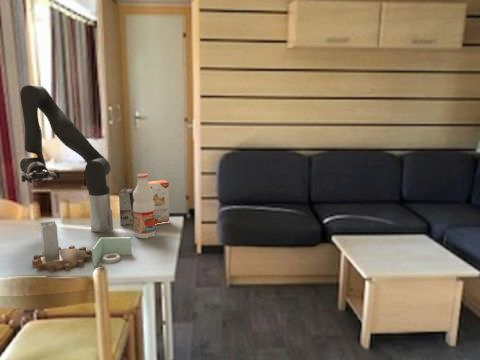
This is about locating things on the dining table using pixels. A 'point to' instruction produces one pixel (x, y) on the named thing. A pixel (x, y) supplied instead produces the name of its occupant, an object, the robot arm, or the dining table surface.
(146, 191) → the fruit juice
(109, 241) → the l-shaped corner panel
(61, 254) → the sprocket plate
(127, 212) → the coffee box
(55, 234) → the brushed metal block
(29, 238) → the dining table surface
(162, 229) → the dining table surface
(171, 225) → the dining table surface
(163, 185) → the cracker box
